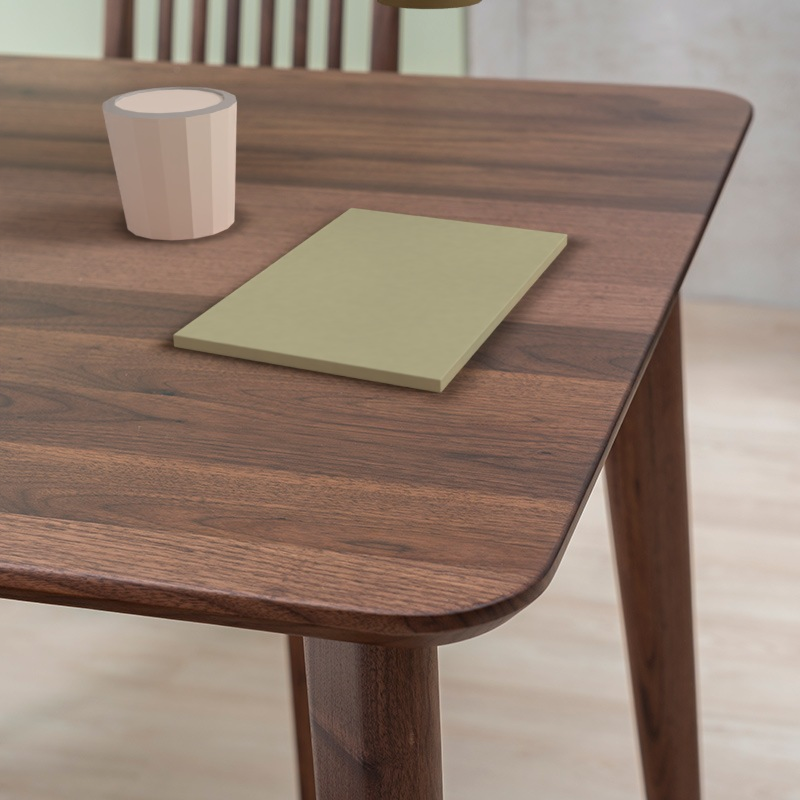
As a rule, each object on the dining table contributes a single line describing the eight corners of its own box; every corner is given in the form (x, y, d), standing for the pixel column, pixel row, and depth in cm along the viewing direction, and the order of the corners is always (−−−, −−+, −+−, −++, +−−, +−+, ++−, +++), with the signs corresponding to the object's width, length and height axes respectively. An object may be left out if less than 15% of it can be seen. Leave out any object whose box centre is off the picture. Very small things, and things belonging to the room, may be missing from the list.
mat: (351, 225, 68) (350, 207, 67) (566, 252, 64) (567, 233, 63) (174, 356, 53) (172, 334, 53) (440, 403, 49) (440, 379, 48)
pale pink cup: (130, 259, 63) (114, 122, 60) (105, 219, 69) (90, 91, 66) (261, 241, 66) (253, 107, 62) (227, 203, 71) (217, 79, 68)
